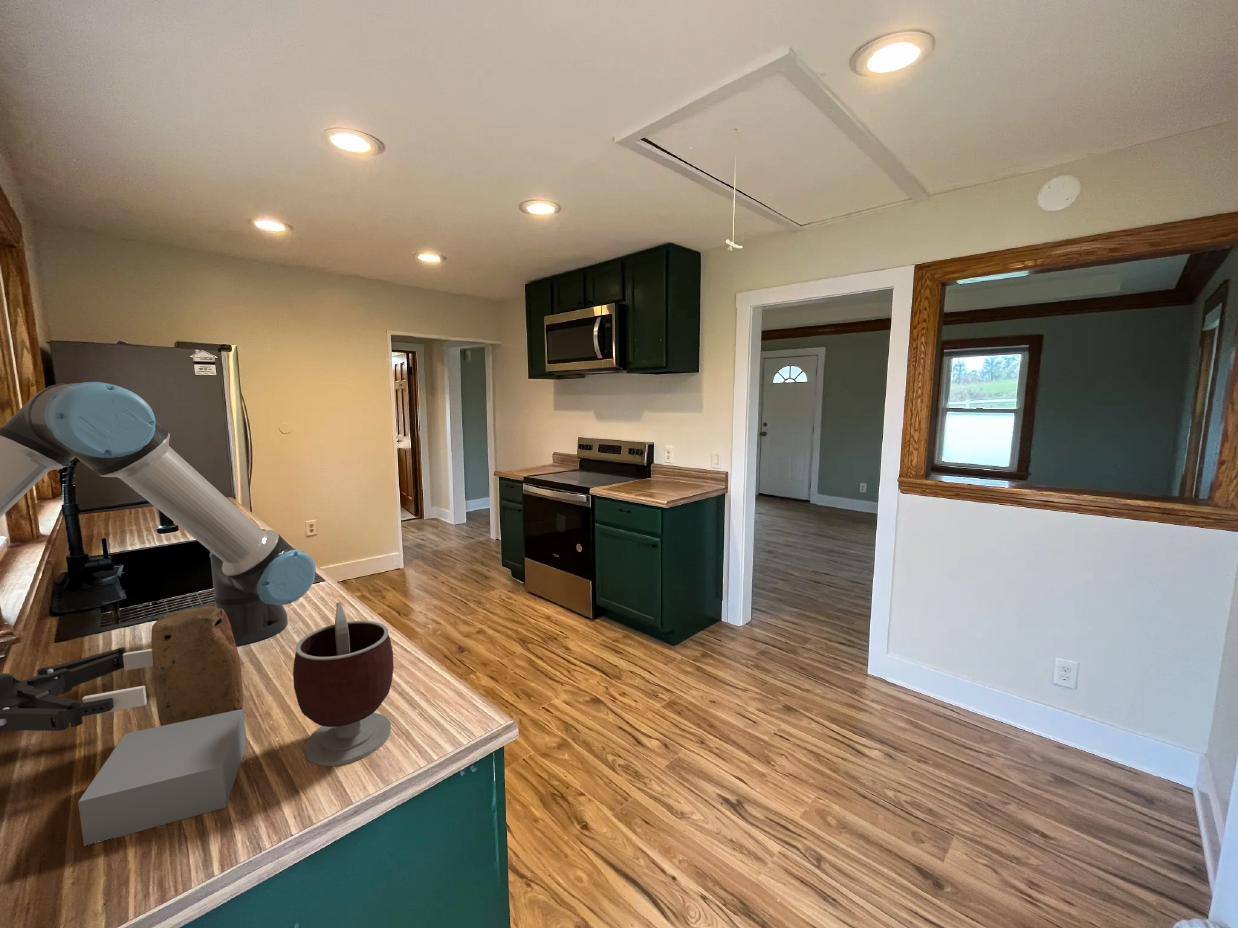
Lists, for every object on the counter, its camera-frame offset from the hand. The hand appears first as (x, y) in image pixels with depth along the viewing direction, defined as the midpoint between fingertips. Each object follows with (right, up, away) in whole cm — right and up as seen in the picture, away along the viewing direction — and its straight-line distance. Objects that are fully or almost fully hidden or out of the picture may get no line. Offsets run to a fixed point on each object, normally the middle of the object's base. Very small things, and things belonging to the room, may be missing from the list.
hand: (161, 672), depth 81 cm
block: (+4, -11, +4) cm, 12 cm away
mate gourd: (+29, -11, +2) cm, 31 cm away
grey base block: (+10, -12, -9) cm, 19 cm away
